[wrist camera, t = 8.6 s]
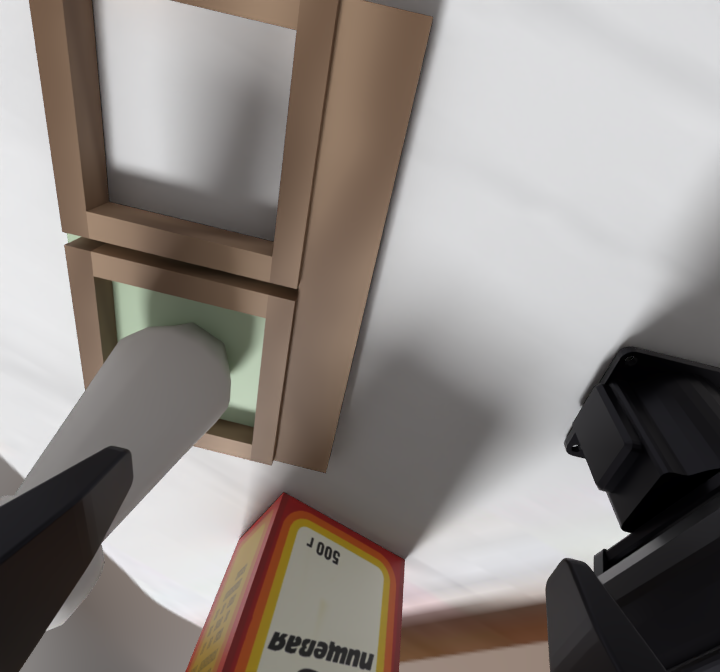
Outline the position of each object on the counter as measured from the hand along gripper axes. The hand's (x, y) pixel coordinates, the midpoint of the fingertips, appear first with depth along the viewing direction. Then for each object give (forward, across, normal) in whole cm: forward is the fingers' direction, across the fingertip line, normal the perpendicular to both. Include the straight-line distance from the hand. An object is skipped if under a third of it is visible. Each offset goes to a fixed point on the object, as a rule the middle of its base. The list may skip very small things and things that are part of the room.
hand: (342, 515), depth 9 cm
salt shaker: (+13, +9, +7) cm, 17 cm away
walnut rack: (+13, +7, +1) cm, 15 cm away
